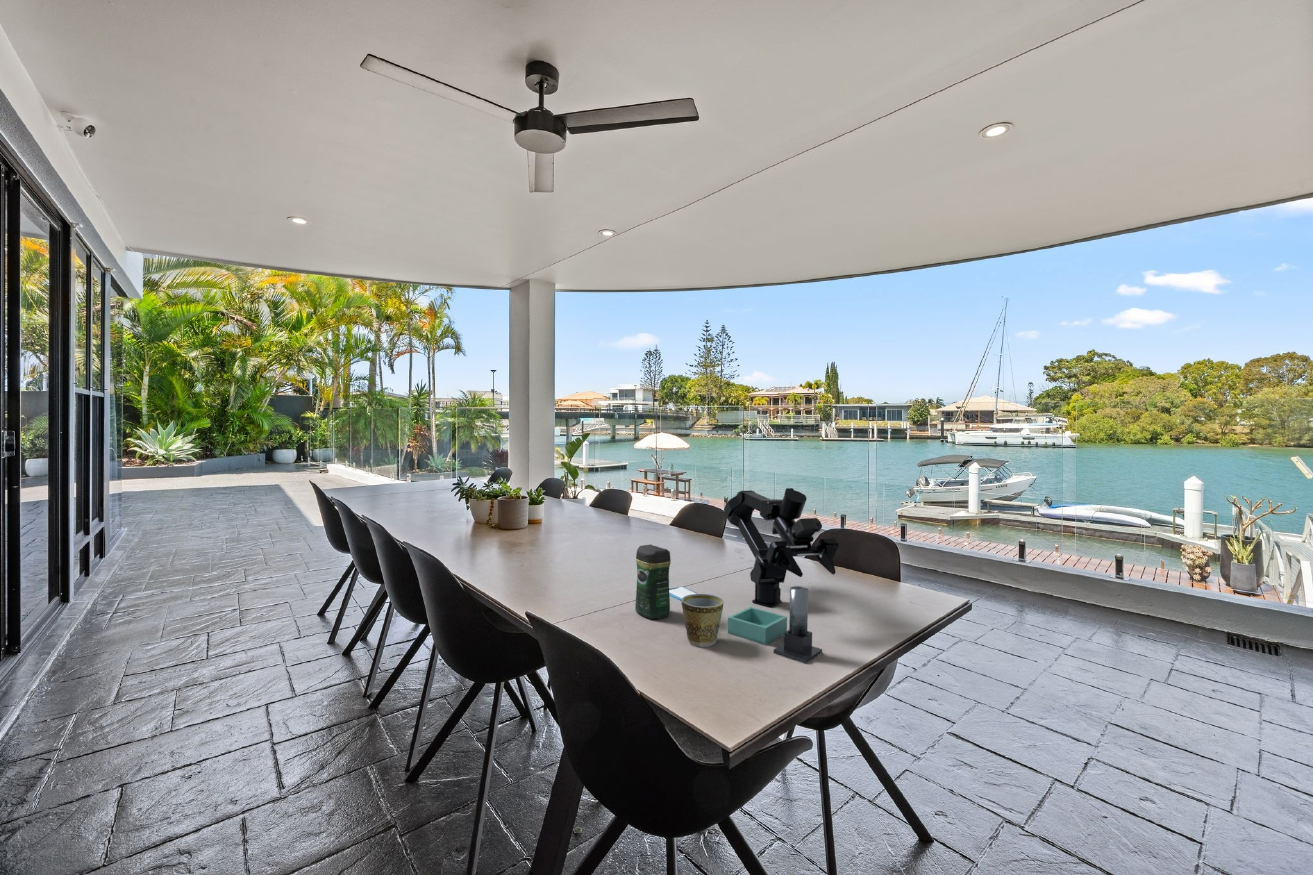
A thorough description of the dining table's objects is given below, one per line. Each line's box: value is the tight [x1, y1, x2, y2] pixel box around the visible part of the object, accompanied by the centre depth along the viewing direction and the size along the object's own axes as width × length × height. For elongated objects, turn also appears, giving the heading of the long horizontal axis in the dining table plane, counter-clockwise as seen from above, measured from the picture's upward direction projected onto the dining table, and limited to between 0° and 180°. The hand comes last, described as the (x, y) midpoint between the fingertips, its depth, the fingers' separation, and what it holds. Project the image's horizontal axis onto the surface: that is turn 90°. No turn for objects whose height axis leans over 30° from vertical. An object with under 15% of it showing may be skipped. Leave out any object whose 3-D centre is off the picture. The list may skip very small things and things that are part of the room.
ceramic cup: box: [681, 593, 724, 648], centre depth 130 cm, size 13×10×10 cm
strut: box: [783, 585, 813, 655], centre depth 123 cm, size 5×5×14 cm
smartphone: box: [669, 586, 699, 602], centre depth 162 cm, size 8×1×15 cm
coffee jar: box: [634, 544, 672, 619], centre depth 147 cm, size 10×8×19 cm
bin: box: [727, 606, 788, 646], centre depth 135 cm, size 11×11×4 cm
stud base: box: [773, 636, 823, 665], centre depth 123 cm, size 8×8×4 cm
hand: (818, 574), depth 133 cm, fingers open, 9 cm apart
